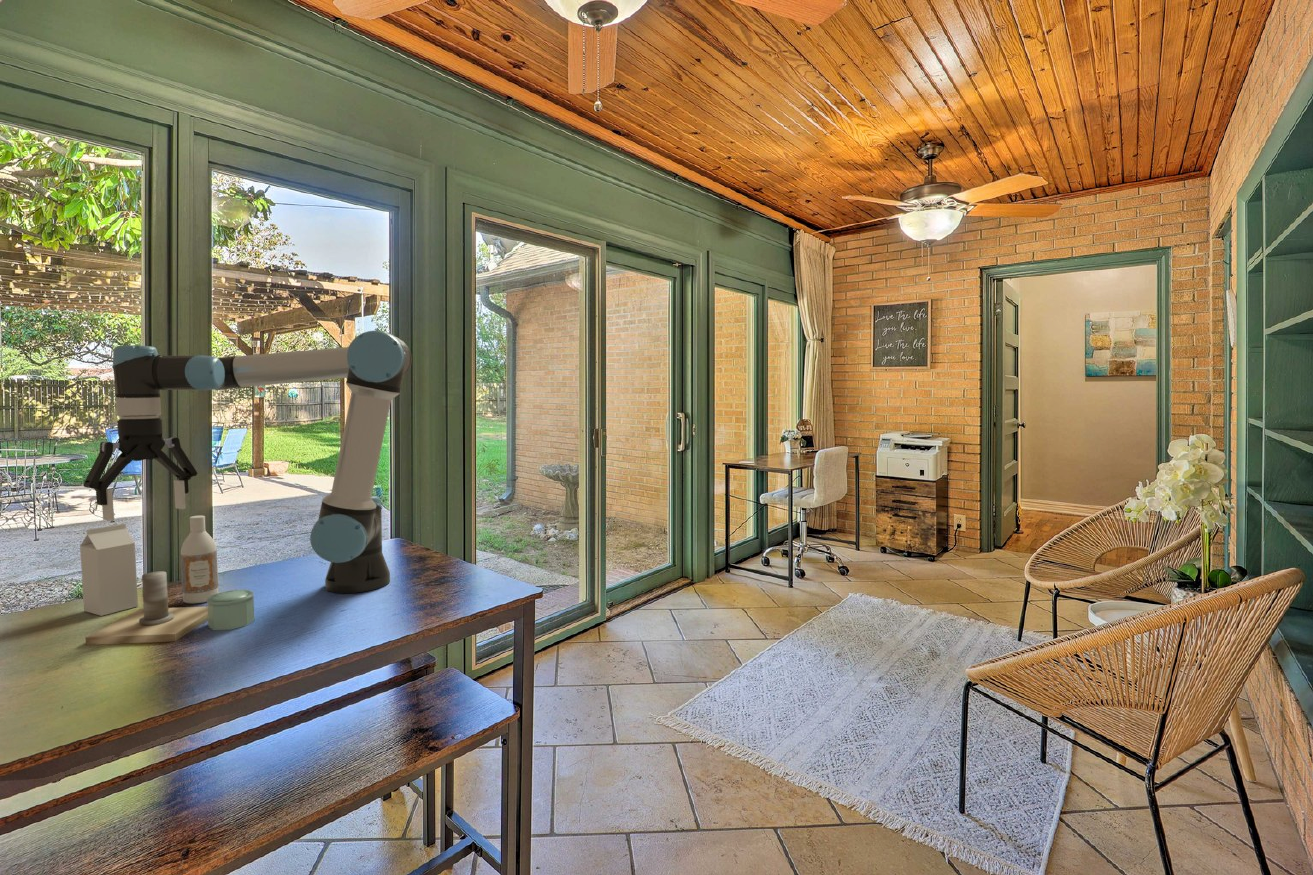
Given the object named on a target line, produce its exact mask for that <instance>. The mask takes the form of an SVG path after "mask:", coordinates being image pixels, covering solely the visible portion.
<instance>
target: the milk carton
mask: <svg viewBox="0 0 1313 875" xmlns="http://www.w3.org/2000/svg"><path fill="white" fill-rule="evenodd" d="M126 525H127V524H126V523H122V524H116V525H115V524H114V525H109V526H103V527H96V528H90V529H86V535H85V537H84V539H83V540H82V542H81V544H80V545H79V550H80V552H79V553H80V564H81V567H80V568H81V581H82V582H81V584H82V596H83V598H82V599H83V610H84V612H86V613H90V614H93V615H96V616H100V617H101V616H102V617H103V616H106V615H110V614H114V613H118V612H120V611H121V612H122V611H125V610H126V611H127V610H129V609H132V608H137V607H138V606H139V594H138V593H139V592H138V578H137V560H136V541H134V539H133V537H132V535H131V534H130V532H129V531H128V529H127V526H126Z"/></svg>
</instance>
